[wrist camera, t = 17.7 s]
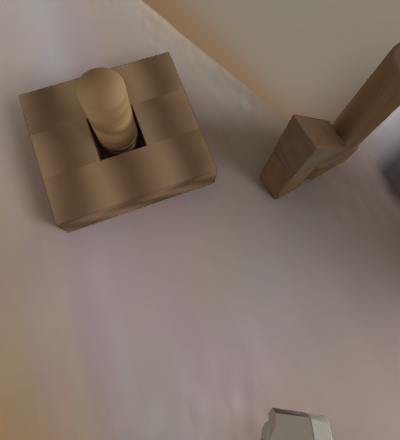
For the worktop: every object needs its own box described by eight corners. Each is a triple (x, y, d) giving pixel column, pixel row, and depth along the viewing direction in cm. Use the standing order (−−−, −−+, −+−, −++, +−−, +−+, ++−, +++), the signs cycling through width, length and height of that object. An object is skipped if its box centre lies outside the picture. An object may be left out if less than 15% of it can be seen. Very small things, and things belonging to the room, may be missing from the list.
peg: (135, 127, 44) (117, 61, 33) (146, 158, 43) (132, 102, 32) (99, 137, 44) (69, 75, 32) (110, 170, 43) (83, 117, 31)
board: (169, 73, 46) (168, 51, 43) (214, 182, 43) (217, 169, 39) (33, 114, 44) (18, 95, 40) (68, 232, 41) (56, 224, 37)
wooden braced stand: (258, 176, 44) (307, 86, 26) (329, 137, 45) (420, 29, 28) (274, 201, 43) (336, 126, 25) (346, 160, 45) (449, 64, 27)
